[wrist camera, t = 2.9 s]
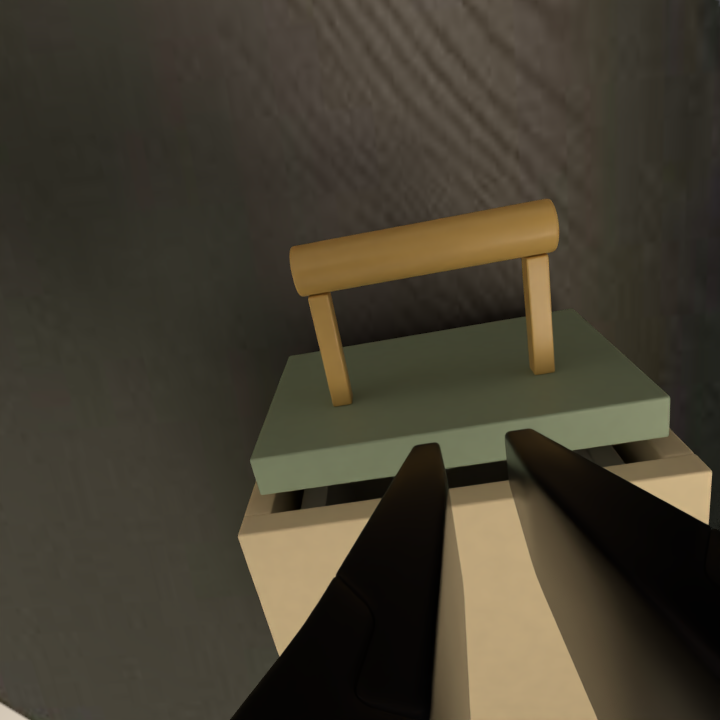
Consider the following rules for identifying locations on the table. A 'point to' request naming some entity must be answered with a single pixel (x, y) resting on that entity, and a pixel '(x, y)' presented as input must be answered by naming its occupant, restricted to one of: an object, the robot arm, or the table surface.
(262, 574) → the small drawer cabinet
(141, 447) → the table surface
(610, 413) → the green drawer
